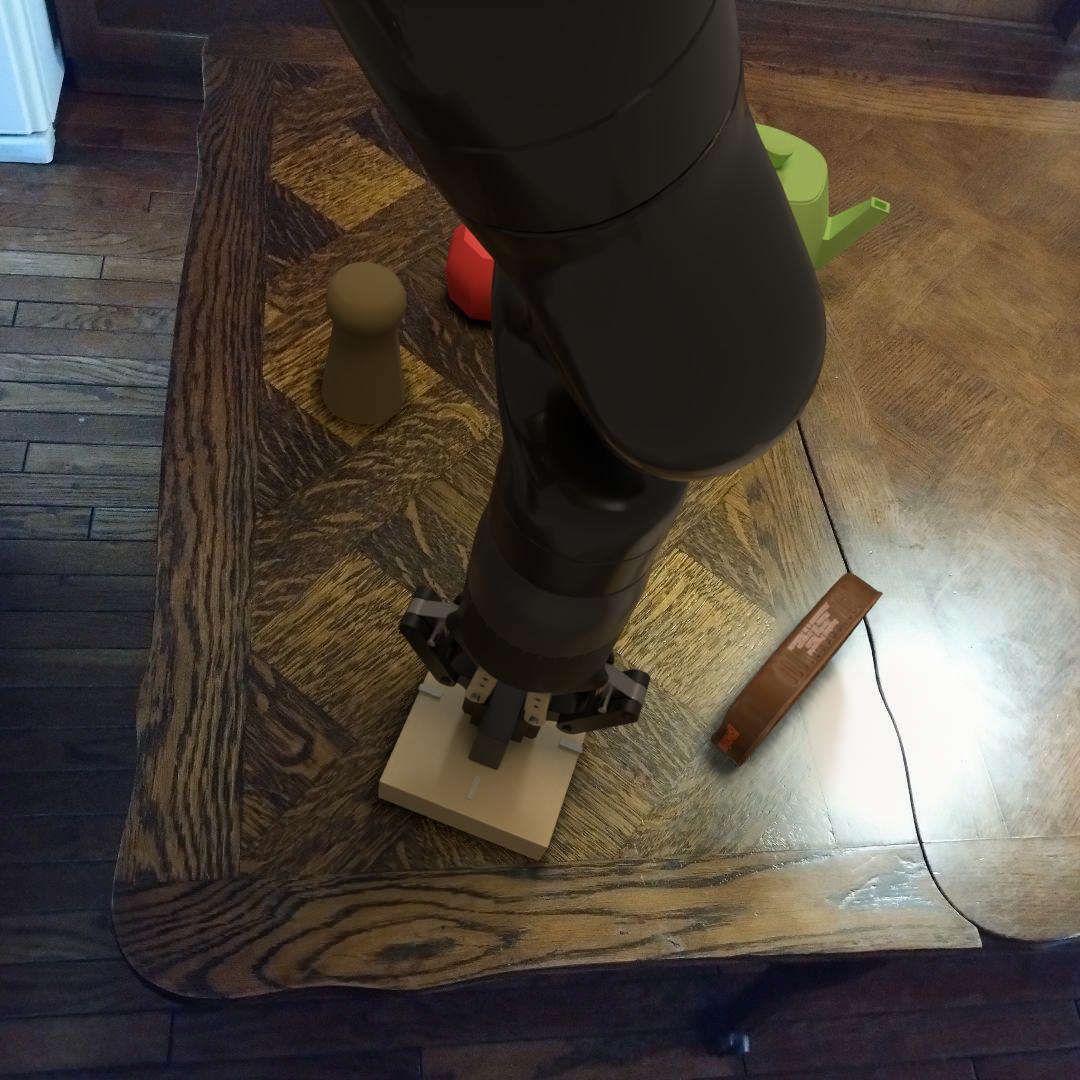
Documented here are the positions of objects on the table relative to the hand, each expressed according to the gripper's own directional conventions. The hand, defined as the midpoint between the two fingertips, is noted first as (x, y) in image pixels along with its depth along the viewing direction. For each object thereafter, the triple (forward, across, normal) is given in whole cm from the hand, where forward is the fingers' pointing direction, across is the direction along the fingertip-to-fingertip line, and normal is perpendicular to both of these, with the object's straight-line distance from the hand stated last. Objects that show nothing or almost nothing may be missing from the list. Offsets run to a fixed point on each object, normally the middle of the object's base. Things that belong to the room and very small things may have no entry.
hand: (501, 718), depth 57 cm
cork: (+3, -18, +21) cm, 28 cm away
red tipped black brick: (0, 0, 0) cm, 0 cm away
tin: (+3, +16, +10) cm, 19 cm away
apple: (+3, -13, +34) cm, 37 cm away
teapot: (+3, +4, +48) cm, 48 cm away
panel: (+3, 0, 0) cm, 3 cm away
